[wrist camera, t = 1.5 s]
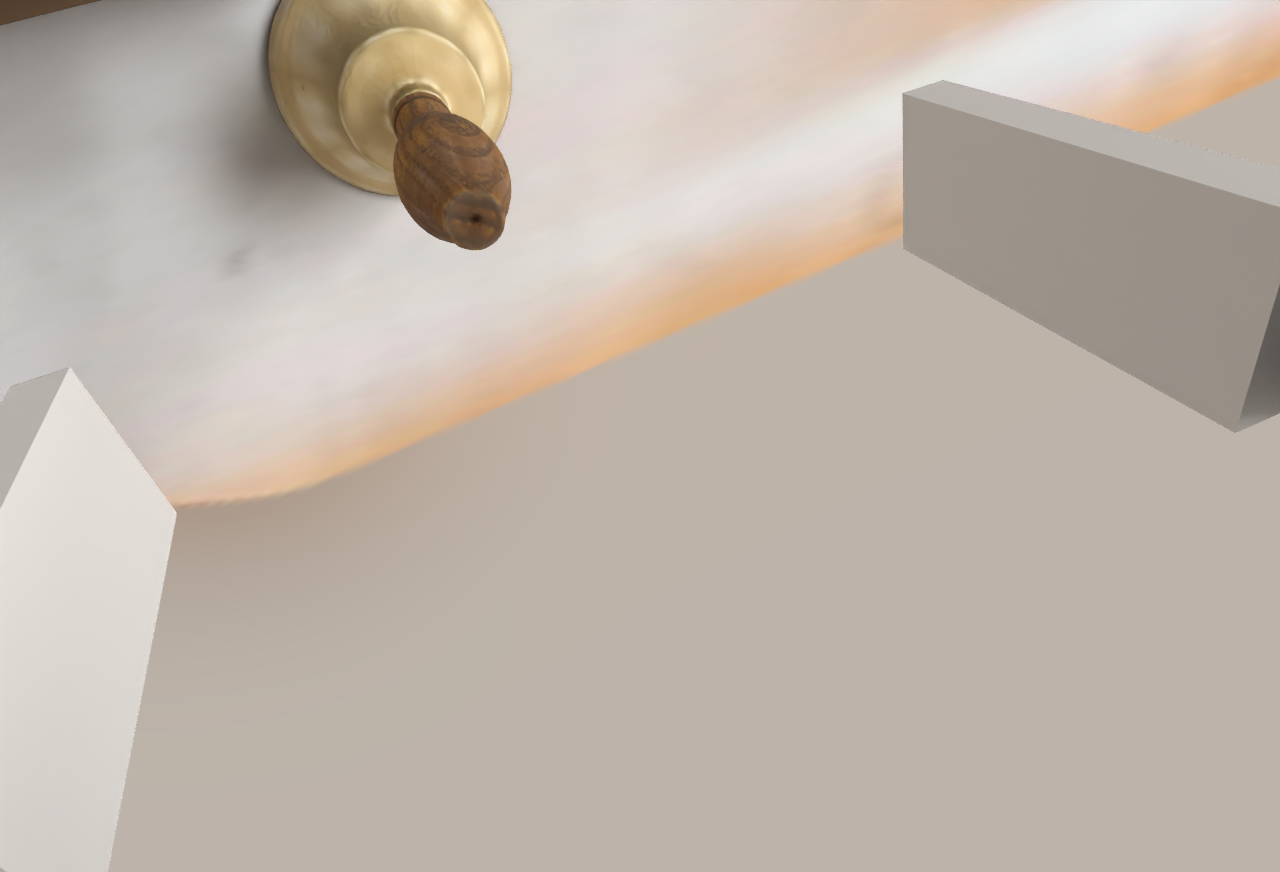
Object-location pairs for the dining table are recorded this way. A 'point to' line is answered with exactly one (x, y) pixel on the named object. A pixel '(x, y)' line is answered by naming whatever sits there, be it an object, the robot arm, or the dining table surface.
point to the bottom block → (34, 8)
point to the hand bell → (402, 104)
